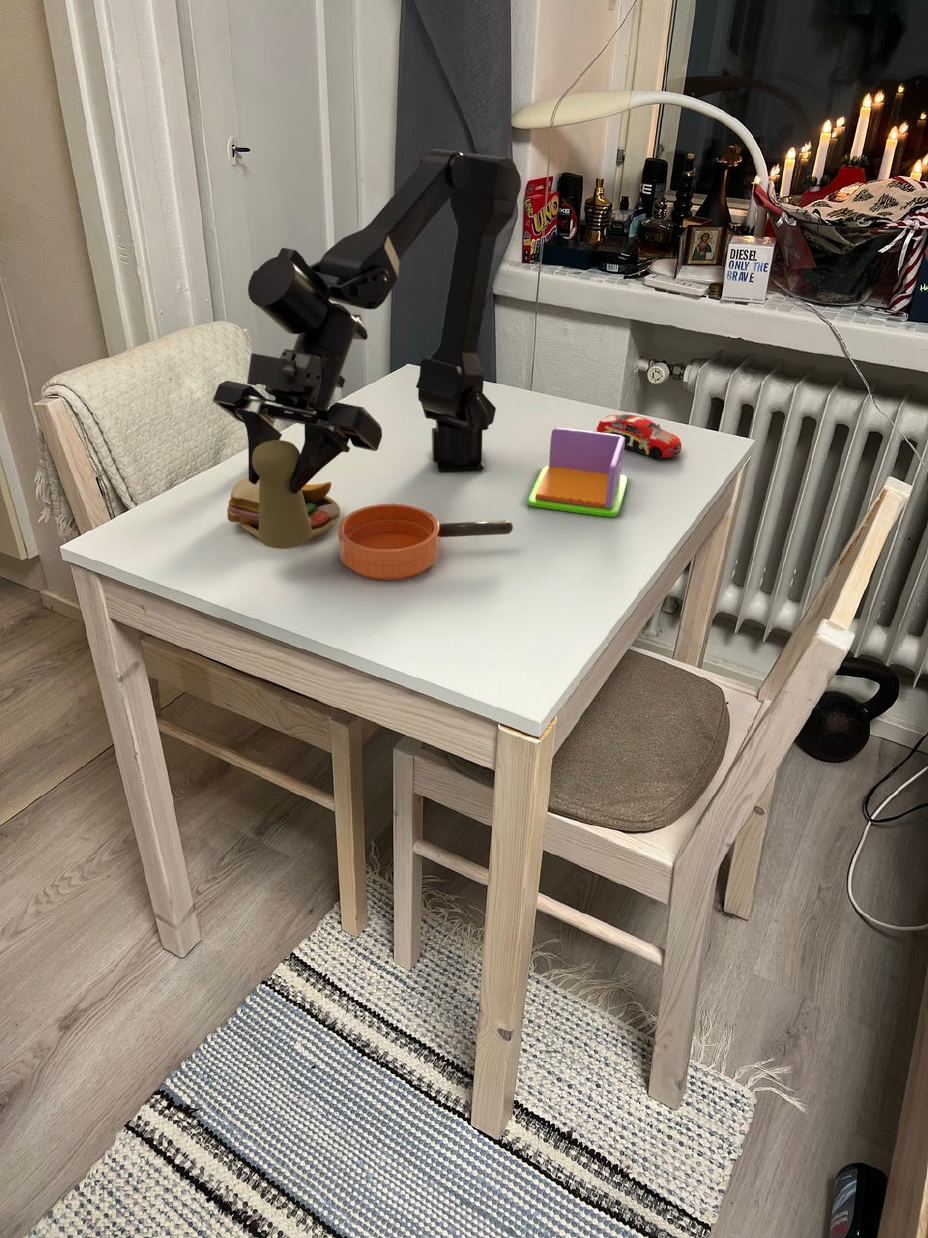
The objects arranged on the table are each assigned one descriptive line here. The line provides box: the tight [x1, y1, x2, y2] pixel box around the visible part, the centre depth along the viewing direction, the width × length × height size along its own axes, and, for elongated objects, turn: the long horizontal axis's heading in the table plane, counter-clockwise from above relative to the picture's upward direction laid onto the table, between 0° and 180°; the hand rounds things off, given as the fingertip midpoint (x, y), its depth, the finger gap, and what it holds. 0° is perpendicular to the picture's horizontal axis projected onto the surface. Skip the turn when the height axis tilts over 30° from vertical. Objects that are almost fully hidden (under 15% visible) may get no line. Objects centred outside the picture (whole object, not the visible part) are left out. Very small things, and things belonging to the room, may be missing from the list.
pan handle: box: [432, 520, 514, 538], centre depth 108 cm, size 10×2×2 cm, turn 97°
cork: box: [252, 439, 312, 550], centre depth 101 cm, size 6×6×11 cm
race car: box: [596, 413, 682, 461], centre depth 135 cm, size 13×5×4 cm, turn 49°
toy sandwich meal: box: [226, 475, 341, 540], centre depth 114 cm, size 12×14×5 cm
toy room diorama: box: [527, 427, 628, 518], centre depth 121 cm, size 12×12×7 cm
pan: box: [338, 503, 440, 581], centre depth 108 cm, size 12×12×4 cm
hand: (271, 487), depth 99 cm, fingers closed on cork, 5 cm apart
